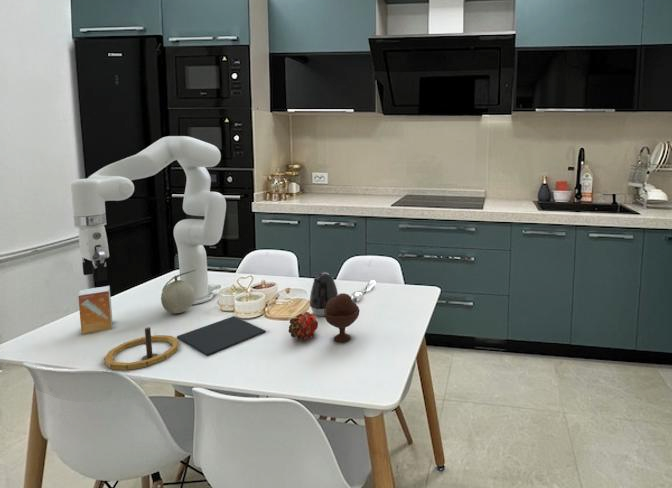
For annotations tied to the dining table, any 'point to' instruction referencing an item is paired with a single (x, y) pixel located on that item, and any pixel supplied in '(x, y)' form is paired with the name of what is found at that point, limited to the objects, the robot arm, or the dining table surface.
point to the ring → (144, 363)
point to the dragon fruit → (303, 326)
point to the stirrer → (357, 295)
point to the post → (148, 345)
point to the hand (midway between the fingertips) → (95, 277)
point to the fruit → (177, 295)
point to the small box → (95, 309)
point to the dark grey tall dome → (322, 292)
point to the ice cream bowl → (341, 315)
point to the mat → (220, 335)
